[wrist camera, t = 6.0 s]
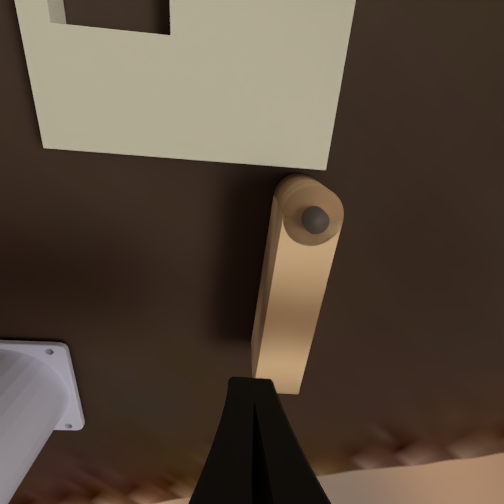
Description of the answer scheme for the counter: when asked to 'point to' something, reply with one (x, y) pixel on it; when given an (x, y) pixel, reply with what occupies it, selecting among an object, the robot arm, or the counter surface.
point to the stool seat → (193, 81)
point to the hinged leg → (293, 278)
